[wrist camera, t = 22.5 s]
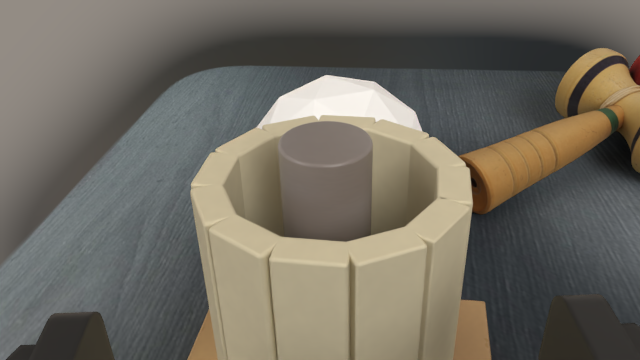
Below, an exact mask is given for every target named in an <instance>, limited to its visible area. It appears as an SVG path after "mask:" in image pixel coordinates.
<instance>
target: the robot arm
mask: <svg viewBox="0 0 640 360" xmlns="http://www.w3.org/2000/svg"><path fill="white" fill-rule="evenodd" d="M6 360H115V359H114V356H113V353H112V349H111V346H110V342H109V339H108V335H107V332H106V328H105V325H104V322H103V319H102V316H101V315H100V313H98V312H79V313H55V314H53V315H51V316H50V318H49V319H48V321H47V323H46V325H45V327H44V329H43V331H42V333H41V335H40V337H39V339H38V341H37V343H36V345H20V346H19V347H18V348H17V349H16V350H15V351H14V352H13V353H12V354H11V355H10V356H9V357H8V358H7V359H6ZM539 360H640V327H639V326H638V325H636V324H635V323H627V324H621V323H620V321H619V320H618V318H617V317H616V315H615V313H614V312H613V310H612V308H611V307H610V305H609V304H608V302H607V301H606V299H605V298H604V297H603V296H601V295H599V294H592V295H566V296H556V297H554V298H553V300H552V303H551V306H550V310H549V315H548V319H547V323H546V327H545V331H544V336H543V340H542V344H541V348H540V353H539Z"/></svg>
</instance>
